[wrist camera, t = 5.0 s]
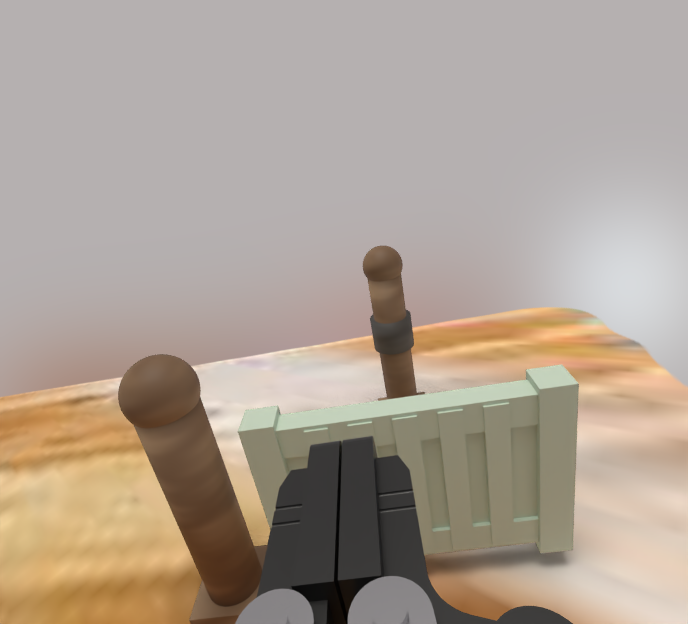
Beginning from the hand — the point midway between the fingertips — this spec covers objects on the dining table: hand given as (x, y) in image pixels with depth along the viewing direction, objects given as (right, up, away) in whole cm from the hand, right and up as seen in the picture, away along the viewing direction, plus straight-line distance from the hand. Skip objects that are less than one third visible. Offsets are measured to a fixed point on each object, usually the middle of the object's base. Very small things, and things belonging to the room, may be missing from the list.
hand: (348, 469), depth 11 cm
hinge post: (-6, -12, +14) cm, 20 cm away
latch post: (+5, -5, +26) cm, 27 cm away
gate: (+4, -9, +13) cm, 17 cm away
